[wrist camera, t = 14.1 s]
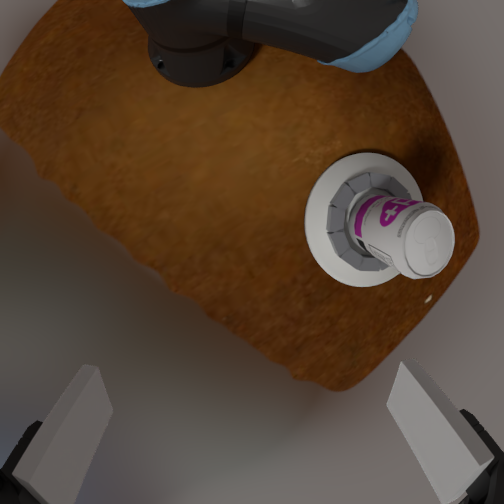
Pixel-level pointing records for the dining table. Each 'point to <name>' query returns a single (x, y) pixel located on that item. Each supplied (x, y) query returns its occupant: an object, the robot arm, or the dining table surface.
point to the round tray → (338, 209)
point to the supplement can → (403, 234)
